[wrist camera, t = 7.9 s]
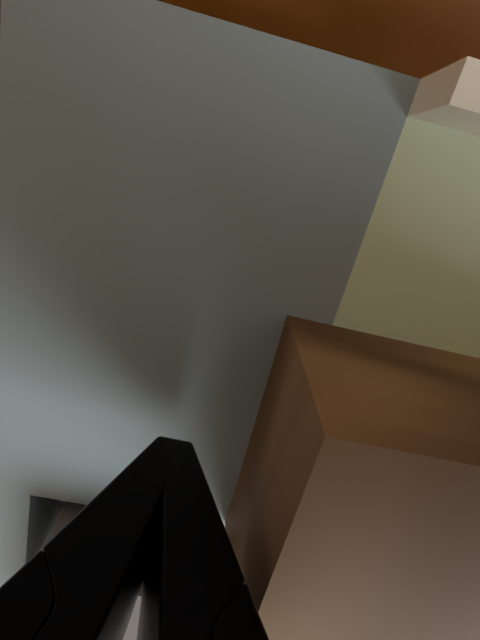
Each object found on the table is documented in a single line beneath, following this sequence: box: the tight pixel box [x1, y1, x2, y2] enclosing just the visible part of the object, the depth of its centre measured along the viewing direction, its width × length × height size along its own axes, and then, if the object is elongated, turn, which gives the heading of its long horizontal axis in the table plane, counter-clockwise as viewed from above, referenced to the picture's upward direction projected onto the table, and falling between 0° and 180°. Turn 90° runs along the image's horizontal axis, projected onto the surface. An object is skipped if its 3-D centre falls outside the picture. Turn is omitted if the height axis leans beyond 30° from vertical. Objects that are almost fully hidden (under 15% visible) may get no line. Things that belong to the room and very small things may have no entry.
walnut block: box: [225, 315, 480, 640], centre depth 8 cm, size 6×6×4 cm
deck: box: [0, 0, 480, 587], centre depth 9 cm, size 24×16×6 cm, turn 76°
